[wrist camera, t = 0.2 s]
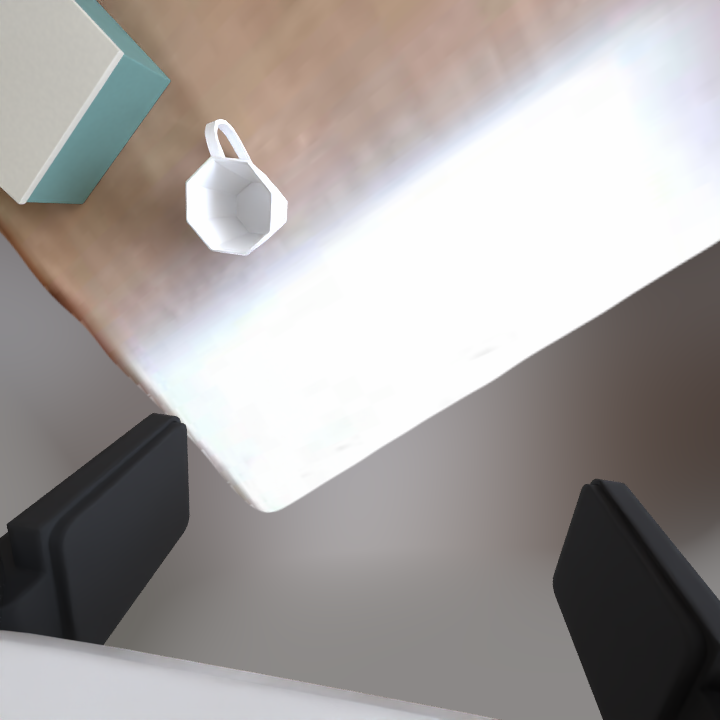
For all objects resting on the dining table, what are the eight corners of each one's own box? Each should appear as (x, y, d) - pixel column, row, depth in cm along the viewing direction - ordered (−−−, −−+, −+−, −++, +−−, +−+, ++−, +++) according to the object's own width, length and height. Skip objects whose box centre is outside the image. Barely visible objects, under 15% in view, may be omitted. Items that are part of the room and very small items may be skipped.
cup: (242, 258, 40) (203, 268, 32) (202, 144, 37) (149, 126, 29) (313, 237, 39) (289, 242, 31) (277, 117, 36) (241, 91, 28)
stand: (14, -90, 33) (-85, -166, 26) (173, 81, 36) (119, 50, 29) (-65, 65, 37) (-167, 32, 31) (82, 207, 40) (17, 205, 33)
